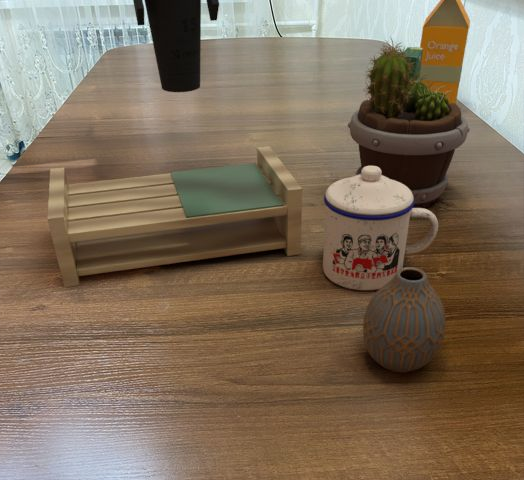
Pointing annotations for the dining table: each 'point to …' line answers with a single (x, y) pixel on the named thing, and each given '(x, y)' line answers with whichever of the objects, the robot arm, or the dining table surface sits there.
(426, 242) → the teacup with lid
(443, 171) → the flowerpot
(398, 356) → the vase
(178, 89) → the drinking cup
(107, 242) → the rack
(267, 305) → the dining table surface
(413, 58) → the coffee box
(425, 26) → the orange juice
